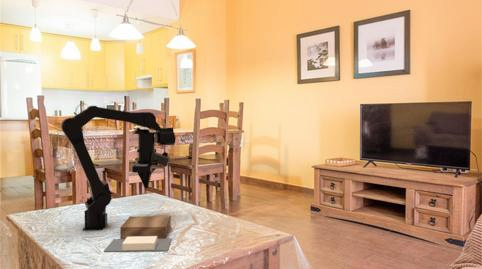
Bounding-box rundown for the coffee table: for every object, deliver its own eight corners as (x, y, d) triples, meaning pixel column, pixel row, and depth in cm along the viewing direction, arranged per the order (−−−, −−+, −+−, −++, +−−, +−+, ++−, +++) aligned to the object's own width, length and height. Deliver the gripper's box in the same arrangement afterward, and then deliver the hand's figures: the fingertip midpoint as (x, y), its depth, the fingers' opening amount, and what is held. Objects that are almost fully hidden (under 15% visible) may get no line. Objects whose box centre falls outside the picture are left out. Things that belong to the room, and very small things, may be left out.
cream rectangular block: (127, 236, 109) (127, 243, 109) (122, 243, 103) (122, 250, 103) (157, 236, 110) (157, 242, 110) (154, 243, 104) (154, 249, 104)
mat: (103, 252, 103) (103, 250, 103) (113, 239, 113) (113, 238, 113) (167, 251, 104) (167, 250, 104) (172, 239, 114) (171, 238, 114)
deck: (120, 239, 113) (120, 227, 113) (129, 227, 125) (129, 216, 125) (165, 239, 114) (165, 226, 114) (170, 227, 126) (170, 216, 126)
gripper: (164, 148, 124) (164, 193, 125) (171, 144, 142) (171, 183, 143) (131, 148, 123) (132, 193, 124) (143, 144, 142) (143, 183, 143)
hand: (146, 188), depth 133 cm, fingers closed
